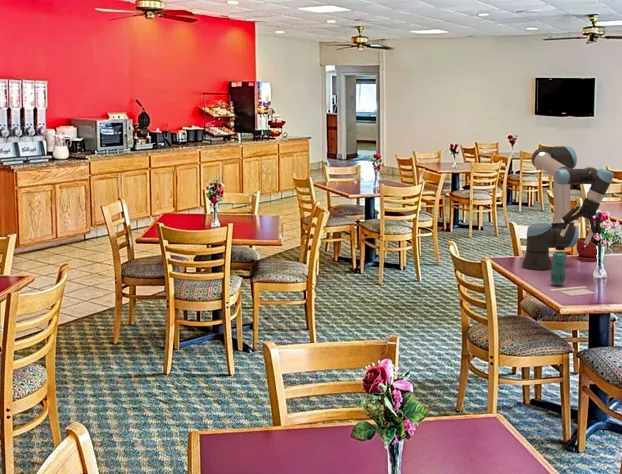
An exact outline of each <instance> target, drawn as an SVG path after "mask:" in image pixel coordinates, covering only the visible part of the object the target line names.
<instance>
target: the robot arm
mask: <svg viewBox="0 0 622 474" xmlns="http://www.w3.org/2000/svg"><path fill="white" fill-rule="evenodd" d="M577 159H578V158H577V153H576V151H575V150H574V149H573V147H571V146H566V145H564V146H542V147H539V148H537V149H535V150H534V152H533V153H532V155H531V160H530V161H531V164H532V165H533V167H535V168H536V169H537V170H540V171H544V172H546V173H547V174H549V175H551V176H552V185H553V186H552V193H553V195H552V196H553V220H552V221H551V223H548V222H547V223H546V222H545V223H544V222H543V223H542V222H538V223H533V224H531V225H528V227H527V231H526V247H525V255H524V257H523V259H522V263H521V267H522V268H523V269H527V270H531V271H532V270H533V271H549V270H551V269H552V261H551V257H550V254H549V253H550V249H556V245H563V246H564V249H568V248H569V249H570V248H574V247H576V246H577V241H578V238H580V237H579V236H580V233H579V231H580V230H579V227H578V226H577V225H575V222H574V221H575V220H577V219H578V218H583V219H587V220H589V222H588V223H589V226H590V229H591V230H590V231H589V232H588V234H587V235H586V237H585V238H586V240H585V242H584V243H585V244H586V245H588V243H589V241H590V239H592V238H594V236H595V235H596V234H597V233H598V234H599V233H601V217H602V213H600V212H597V211H598V210H599V208H600V206H601V203H602V202H603V200H604V197H605V195H606V194H607V191H608V190H609V188H610V186H611V184H612V182H613V178H614V176H615V174H614V173H613V171H610V170H607V169H605V168H603V167H602V168H601V167H600V168H599V169H597V168H594V167H592V166H586V167H584V168H576V166H577V162H578V161H577ZM571 185H590V187H589V189H588V192H587V193H586V195H585V198H584V200H583V202H582V204H581V206H580V205H578V204H575V205H574V206H573V208H572V207H571ZM571 208H572V209H571ZM594 217H595V218H594ZM594 219H595V221H594ZM586 245H585V246H586Z"/></svg>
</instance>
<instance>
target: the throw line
mask: <svg viewBox="0 0 622 474" xmlns="http://www.w3.org/2000/svg"><path fill="white" fill-rule="evenodd" d="M587 288H588V287H587V286H585V285H584V286H572V287H563V288H562V287H561V288H560V287H559V288H552V289H548V291H549V292H550V293H551V292H552V293H553V292H554V293H555V292H560V291H569V290H580V289H586V290H587Z"/></svg>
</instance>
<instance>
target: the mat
mask: <svg viewBox="0 0 622 474" xmlns="http://www.w3.org/2000/svg"><path fill="white" fill-rule="evenodd" d="M559 293H561V294H563V295H566V296H568V297H576V296H588V295H596V294H597V293H596V292H594V291H591V290H590V289H589V290H588V289H587V288H586V289H575V290H565V291H559Z"/></svg>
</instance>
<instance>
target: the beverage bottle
mask: <svg viewBox="0 0 622 474" xmlns="http://www.w3.org/2000/svg"><path fill="white" fill-rule="evenodd" d="M565 249H566V248H564V246H563V245H556V248H555V250H557V251H554V252H553V253H552V261H551V269H550V270H551V271H550V272H551V273H550V282H551V284H555V285H564V284H565V280H566V267H567V265H566V264H567V254H566V253H565V252H564V251H565Z"/></svg>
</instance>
